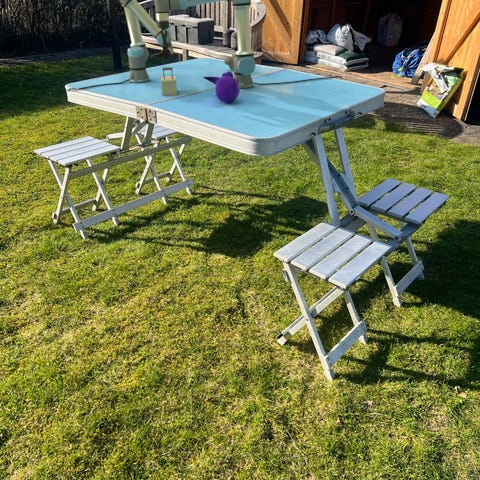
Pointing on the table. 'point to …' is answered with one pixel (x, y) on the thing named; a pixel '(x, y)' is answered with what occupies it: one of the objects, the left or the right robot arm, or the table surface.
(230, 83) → the toy
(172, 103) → the table surface
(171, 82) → the chest
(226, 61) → the teapot
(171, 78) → the beige boxy piece
